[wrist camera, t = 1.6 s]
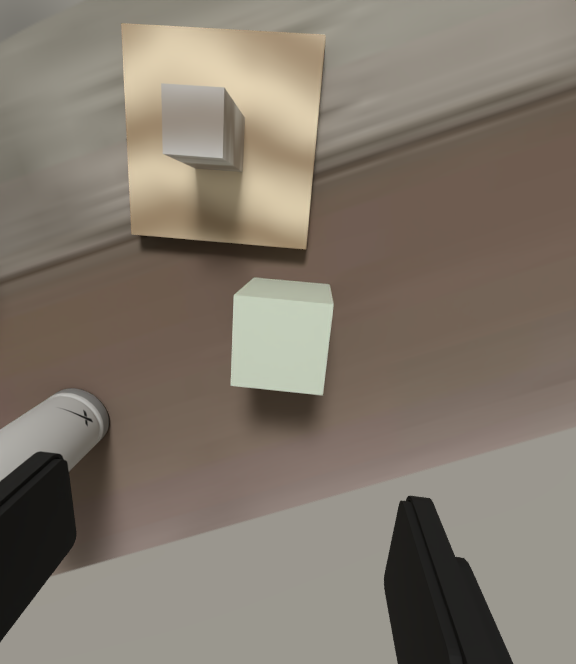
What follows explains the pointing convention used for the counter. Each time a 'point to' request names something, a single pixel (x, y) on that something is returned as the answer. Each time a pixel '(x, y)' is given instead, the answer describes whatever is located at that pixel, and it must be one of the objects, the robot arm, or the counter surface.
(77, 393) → the travel mug
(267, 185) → the post board
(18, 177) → the counter surface
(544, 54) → the counter surface
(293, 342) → the pale green block
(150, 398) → the counter surface
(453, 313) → the counter surface
